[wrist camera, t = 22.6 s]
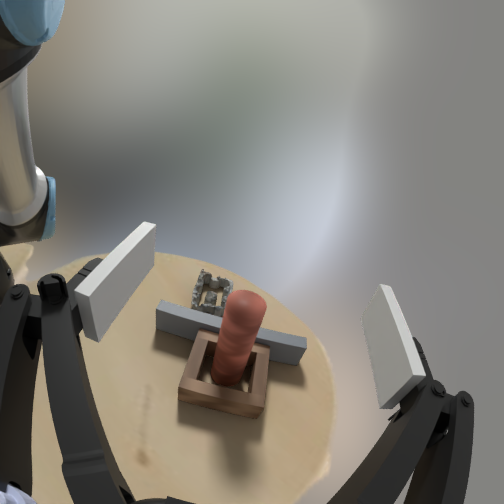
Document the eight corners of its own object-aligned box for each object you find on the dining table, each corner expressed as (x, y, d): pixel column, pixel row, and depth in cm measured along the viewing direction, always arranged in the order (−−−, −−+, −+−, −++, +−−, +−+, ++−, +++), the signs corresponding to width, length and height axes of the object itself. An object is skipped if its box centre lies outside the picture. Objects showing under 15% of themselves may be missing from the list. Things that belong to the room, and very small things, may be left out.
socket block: (177, 399, 36) (178, 386, 34) (197, 343, 46) (199, 328, 44) (257, 418, 36) (263, 407, 34) (263, 360, 46) (270, 346, 45)
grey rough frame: (199, 282, 62) (201, 266, 60) (232, 290, 62) (235, 275, 60) (186, 313, 52) (188, 297, 50) (224, 322, 53) (228, 307, 51)
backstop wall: (155, 328, 47) (155, 308, 44) (160, 319, 49) (161, 299, 46) (296, 365, 47) (306, 348, 44) (297, 355, 49) (306, 337, 46)
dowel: (207, 381, 40) (223, 310, 32) (214, 358, 44) (231, 286, 37) (238, 389, 40) (264, 321, 32) (243, 366, 44) (268, 295, 36)
